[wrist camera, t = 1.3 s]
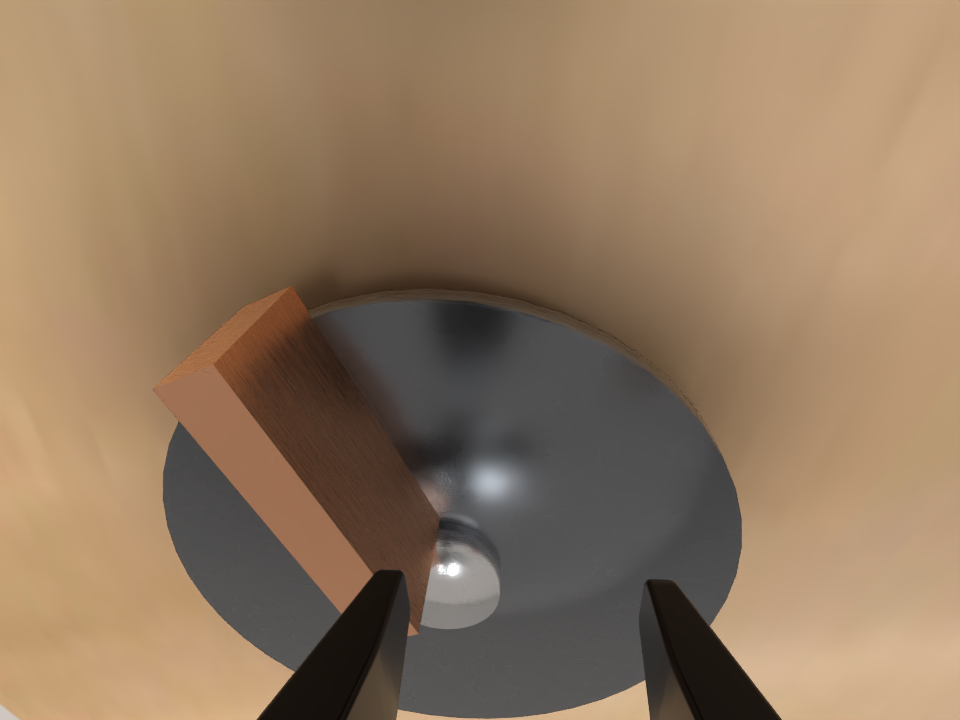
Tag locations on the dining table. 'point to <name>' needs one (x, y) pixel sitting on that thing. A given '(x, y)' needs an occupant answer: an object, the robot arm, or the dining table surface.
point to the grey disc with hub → (446, 490)
